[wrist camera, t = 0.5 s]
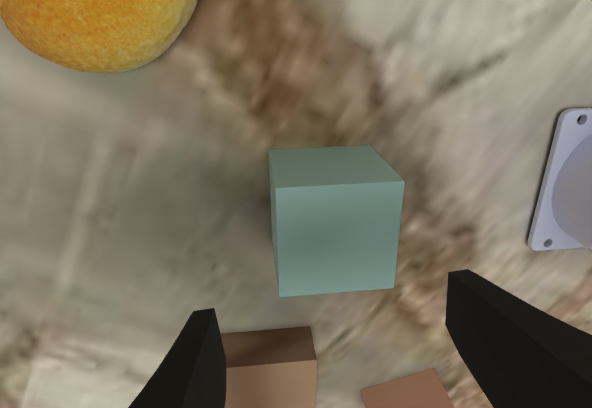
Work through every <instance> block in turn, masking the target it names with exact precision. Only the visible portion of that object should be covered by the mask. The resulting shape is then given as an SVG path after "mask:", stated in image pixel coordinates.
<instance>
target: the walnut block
mask: <svg viewBox="0 0 592 408" xmlns="http://www.w3.org/2000/svg"><path fill="white" fill-rule="evenodd" d="M220 335H221V339H222V343H223V347H224V351H225V356H226V401H225V408H316V370H317V359H316V354H315V349H314V345H313V340H312V335H311V330H310V326H309V327H297V328H285V329H273V330H261V331H249V332H237V333H225V334H220Z"/></svg>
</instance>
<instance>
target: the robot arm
mask: <svg viewBox="0 0 592 408" xmlns="http://www.w3.org/2000/svg"><path fill="white" fill-rule="evenodd" d="M580 115H581V119H580V121H579V122H577V119H578V117H579V116H580ZM546 240H547V242H545V241H546ZM544 242H545V243H544ZM528 246H529V247H530V248H531V249H532V250H534V251H544V250H557V249H571V248H584V247H587V248H588V249H590V250H591V251H592V108H570V109H566V110H565V111H563V112H562V113H561V115H560V116H559V119H558V123H557V127H556V130H555V134H554V138H553V142H552V146H551V150H550V154H549V158H548V162H547V166H546V170H545V174H544V178H543V182H542V186H541V190H540V194H539V198H538V202H537V206H536V210H535V214H534V218H533V222H532V226H531V230H530V234H529V238H528ZM445 325H446V327H447V329H448V331H449V333H450V336H451V338H452V340H453V342H454V344H455V346H456V348H457V350H458V352H459V354H460V356H461V357H462V359H463V361H464V362H465V364H466V365H467V367H468V369H469V370H470V372H471V373H472V375H473V376H474V378H475V379H476V381H477V383H478V384H479V386H480V387H481V389H482V390H483V392H484V393H485V395H486V396H487V398H488V400H489V401H490V403H491V404H492V406H493V407H494V408H592V335H590V334H588V333H586V332H583V331H581V330H579V329H577V328H575V327H573V326H571V325H568V324H566V323H564V322H562V321H560V320H558V319H556V318H554V317H552V316H550V315H548V314H547V313H545V312H543V311H541V310H539V309H537V308H535V307H533V306H532V305H530V304H528V303H526V302H524V301H523V300H521V299H519V298H517V297H516V296H514V295H512V294H510V293H509V292H507V291H505V290H503V289H502V288H500V287H498V286H497V285H495V284H493V283H491V282H490V281H488V280H486V279H485V278H483V277H481V276H479V275H478V274H476V273H474V272H472V271H470V270H468V269H467V270H460V271H454V272H448V289H447V306H446V323H445ZM225 401H226V356H225V351H224V347H223V343H222V339H221V335H220V330H219V326H218V322H217V318H216V314H215V309H214V308H212V309H205V310H198V311H194V312H193V313H192V314H191V315H190V317H189V319H188V321H187V322H186V324H185V326H184V328H183V329H182V331H181V333H180V334H179V336H178V338H177V339H176V341H175V343H174V344H173V346H172V347H171V349H170V350H169V352H168V354H167V355H166V357H165V358H164V360H163V361H162V363H161V364H160V366H159V367H158V369H157V370H156V372H155V373H154V374H153V376H152V377H151V378H150V380H149V381H148V382H147V384H146V385H145V387H144V388H143V389H142V391H141V392H140V393H139V395H138V396H137V397H136V398H135V400H134V401H133V402H132V404H131V405H130V406H129V407H128V408H225Z"/></svg>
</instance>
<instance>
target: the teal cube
mask: <svg viewBox="0 0 592 408" xmlns="http://www.w3.org/2000/svg"><path fill="white" fill-rule="evenodd" d="M268 152H269V176H270V200H271V224H272V243H273V251H274V259H275V267H276V274H277V282H278V290H279V297H289V296H302V295H314V294H326V293H339V292H351V291H363V290H376V289H388V288H394V282H395V272H396V262H397V253H398V243H399V233H400V224H401V214H402V204H403V195H404V185H405V181H404V179H403V178H402V177H401V176H400V175H399V174H398V173H397V172H396V171H395V170H394V169H393V168H392V167H391V166H390V165H389V164H388V163H387V162H386V161H385V160H384V159H383V158H382V157H381V156H380V155H379V154H378V153H377V152H376V151H375V150H374V149H373V148H372V147H371V146H370V145H360V146H338V147H316V148H294V149H272V150H268Z"/></svg>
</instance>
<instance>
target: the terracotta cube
mask: <svg viewBox="0 0 592 408" xmlns="http://www.w3.org/2000/svg"><path fill="white" fill-rule="evenodd" d="M361 392H362V396H363V399H364V402H365V406H366V408H454V406H453V404H452V402H451V400H450V398H449V396H448V395H447V393H446V391H445V389H444V387H443V385H442V383H441V382H440V380H439V378H438V376H437V374H436V372H435V370H434V368H432V369H429V370H425V371H422V372H419V373H415V374H412V375H409V376H405V377H402V378H399V379H395V380H392V381H389V382H385V383H382V384H379V385H375V386H372V387H369V388H365V389H362V390H361Z"/></svg>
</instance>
